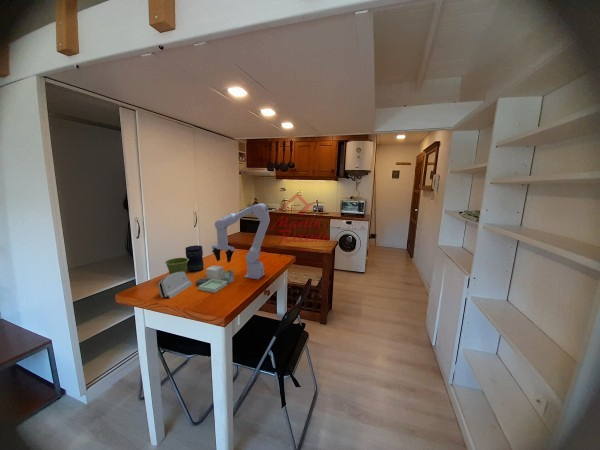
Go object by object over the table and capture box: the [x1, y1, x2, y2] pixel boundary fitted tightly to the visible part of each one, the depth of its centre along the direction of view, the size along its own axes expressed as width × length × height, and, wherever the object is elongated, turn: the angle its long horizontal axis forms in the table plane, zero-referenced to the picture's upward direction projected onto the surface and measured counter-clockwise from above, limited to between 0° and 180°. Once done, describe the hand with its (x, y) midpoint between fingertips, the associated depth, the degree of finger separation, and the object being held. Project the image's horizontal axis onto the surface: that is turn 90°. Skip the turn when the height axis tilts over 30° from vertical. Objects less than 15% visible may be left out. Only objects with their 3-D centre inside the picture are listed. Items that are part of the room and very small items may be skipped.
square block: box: [195, 277, 209, 287], centre depth 122 cm, size 5×5×2 cm
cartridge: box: [222, 269, 235, 284], centre depth 125 cm, size 4×4×6 cm
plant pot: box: [164, 257, 189, 275], centre depth 127 cm, size 12×12×11 cm
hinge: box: [157, 272, 193, 299], centre depth 114 cm, size 17×5×10 cm, turn 169°
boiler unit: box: [205, 265, 225, 281], centre depth 128 cm, size 8×6×7 cm
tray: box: [198, 279, 228, 294], centre depth 118 cm, size 10×10×2 cm
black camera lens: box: [184, 245, 205, 274], centre depth 142 cm, size 10×10×15 cm
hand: (223, 261), depth 135 cm, fingers open, 7 cm apart
